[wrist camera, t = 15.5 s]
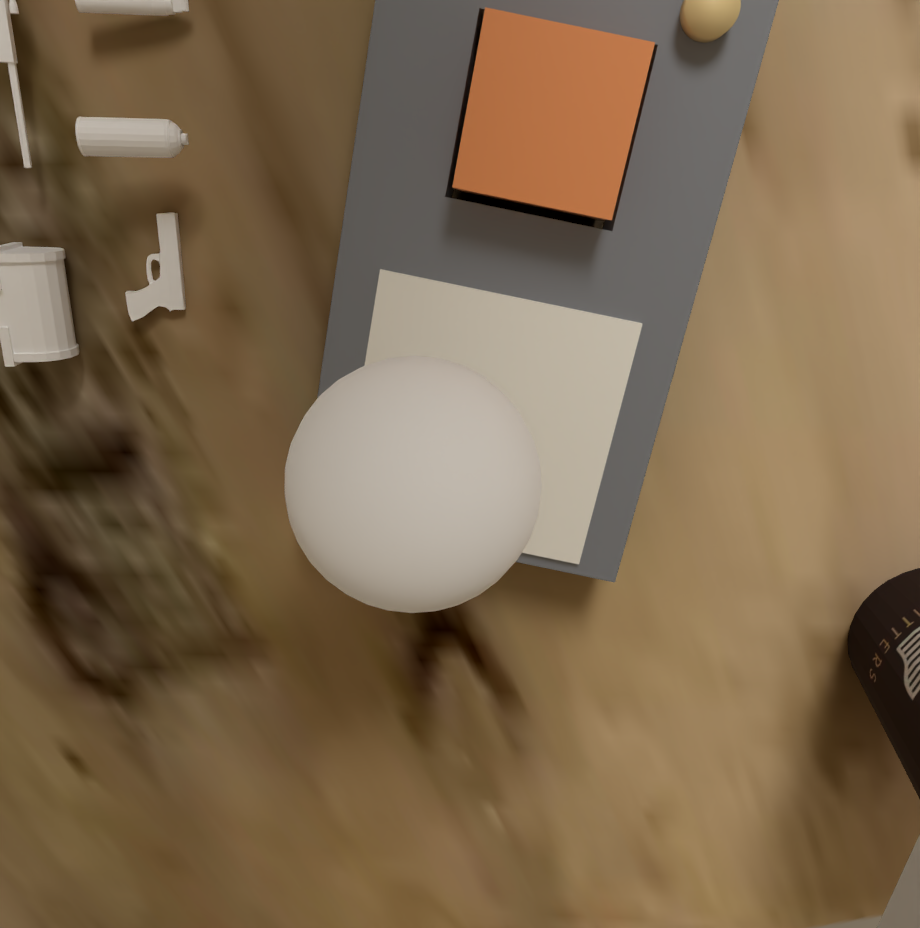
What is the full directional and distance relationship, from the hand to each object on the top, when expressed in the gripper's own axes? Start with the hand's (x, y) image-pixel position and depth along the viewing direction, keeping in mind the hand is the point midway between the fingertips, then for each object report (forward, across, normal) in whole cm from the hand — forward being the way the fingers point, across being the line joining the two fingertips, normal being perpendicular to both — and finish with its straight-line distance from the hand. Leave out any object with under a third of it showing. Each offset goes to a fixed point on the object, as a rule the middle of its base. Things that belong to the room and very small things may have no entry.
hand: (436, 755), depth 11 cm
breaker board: (+22, 0, +5) cm, 22 cm away
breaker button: (+21, 0, +10) cm, 23 cm away
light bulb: (+19, -2, 0) cm, 19 cm away
